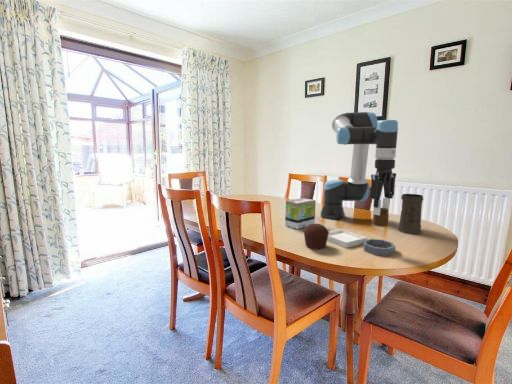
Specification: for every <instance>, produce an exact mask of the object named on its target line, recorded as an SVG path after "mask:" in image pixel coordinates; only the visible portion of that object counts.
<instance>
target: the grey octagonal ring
mask: <svg viewBox="0 0 512 384" xmlns="http://www.w3.org/2000/svg"><path fill="white" fill-rule="evenodd" d="M362 248H363V250H364V252H366V253H369V254H371V255H374V256H383V257H389V256H392V255H395V254H396V245H395V244H394V242H391V241H388V240H385V239H381V238H380V239H379V238H378V239H376V238H367V240H364V242H363V244H362Z"/></svg>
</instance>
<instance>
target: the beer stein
mask: <svg viewBox="0 0 512 384" xmlns="http://www.w3.org/2000/svg"><path fill="white" fill-rule="evenodd" d="M400 198H401V211H400V217H399V218H400V219H399V222H398V227H397V230H398V232H400V233H404V234H408V235H418V234H421V233H422V229H421V228H422V225H421V224H422V208H423V206H422V204H423V201H424V196H423V195H422V194H417V193H416V194H415V193H403V194H401V197H400Z"/></svg>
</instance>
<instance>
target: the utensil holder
mask: <svg viewBox="0 0 512 384" xmlns="http://www.w3.org/2000/svg"><path fill="white" fill-rule="evenodd" d="M377 197H378V196H377ZM385 201H386V200H385ZM385 201H383V200H382V201H381V204H382V205H383V204H384V203H383V202H385ZM387 203H388V202H387ZM385 205H386V204H385ZM387 205H388V204H387ZM372 214H373V213H372ZM389 218H390V217H389V214H388V209H386V208H382V207H381V210H380V215H374V214H373V217H372V224H373V225H374V226H376V227H380V228H381V227H384V228H385V227H387V226H388V225H389Z"/></svg>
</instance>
